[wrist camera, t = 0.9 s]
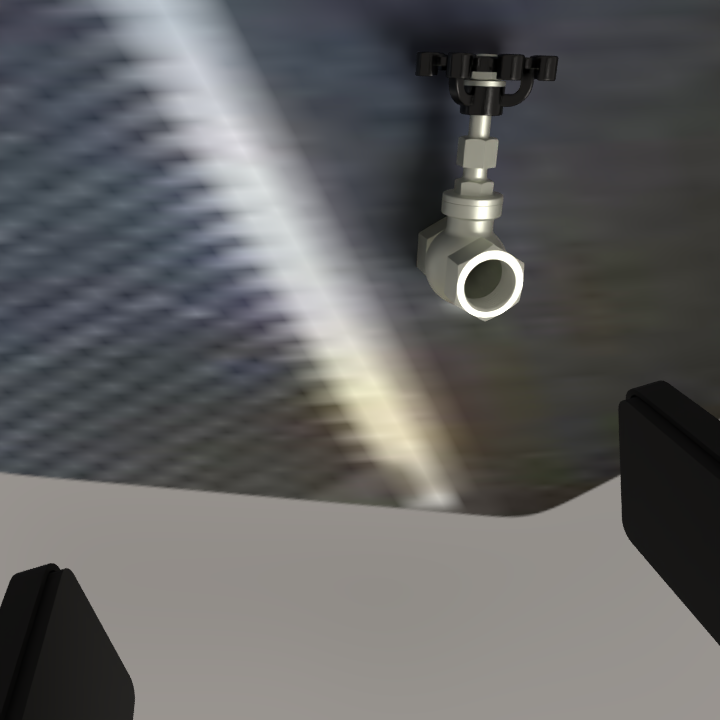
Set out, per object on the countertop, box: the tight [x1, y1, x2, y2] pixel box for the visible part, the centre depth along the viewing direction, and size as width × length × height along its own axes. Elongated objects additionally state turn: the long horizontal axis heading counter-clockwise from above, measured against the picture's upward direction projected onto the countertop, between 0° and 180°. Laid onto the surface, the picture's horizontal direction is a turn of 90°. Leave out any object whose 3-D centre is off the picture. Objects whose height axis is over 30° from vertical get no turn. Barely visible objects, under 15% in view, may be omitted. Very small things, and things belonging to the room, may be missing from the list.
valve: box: [415, 52, 558, 321], centre depth 33 cm, size 7×7×12 cm
